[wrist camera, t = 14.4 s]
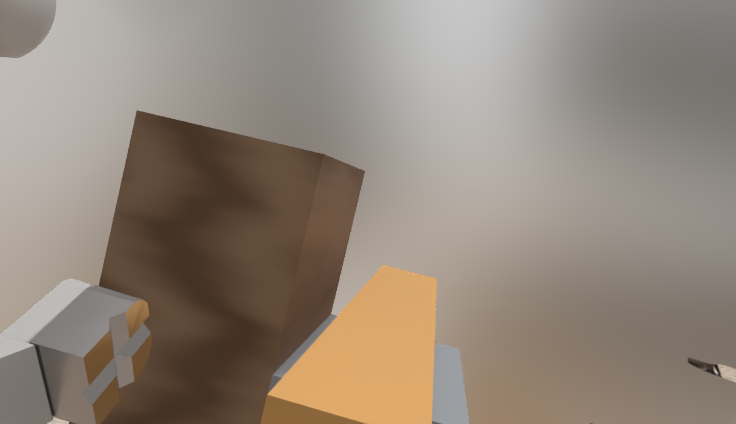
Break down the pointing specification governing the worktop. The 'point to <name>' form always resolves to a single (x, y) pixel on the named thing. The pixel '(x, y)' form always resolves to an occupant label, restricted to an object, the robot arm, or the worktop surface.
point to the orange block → (367, 360)
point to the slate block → (447, 379)
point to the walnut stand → (223, 264)
